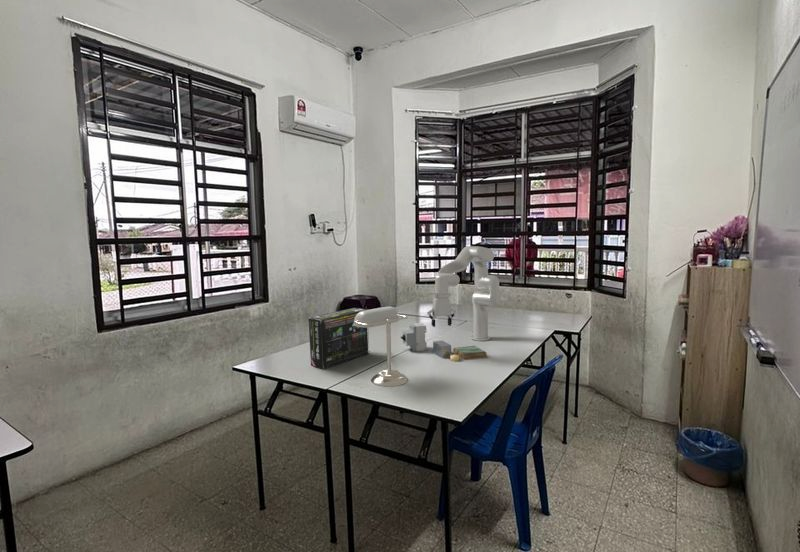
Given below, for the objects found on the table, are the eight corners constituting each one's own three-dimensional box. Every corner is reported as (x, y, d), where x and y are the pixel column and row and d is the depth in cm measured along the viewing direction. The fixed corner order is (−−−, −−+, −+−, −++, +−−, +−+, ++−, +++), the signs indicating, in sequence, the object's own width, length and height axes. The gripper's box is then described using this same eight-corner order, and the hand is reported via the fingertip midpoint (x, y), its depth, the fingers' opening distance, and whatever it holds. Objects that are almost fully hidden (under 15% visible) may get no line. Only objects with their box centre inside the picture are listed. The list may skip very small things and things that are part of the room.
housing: (433, 353, 244) (433, 341, 243) (442, 352, 246) (442, 340, 246) (441, 358, 234) (441, 346, 233) (451, 357, 236) (451, 345, 235)
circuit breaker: (400, 349, 253) (399, 324, 252) (422, 346, 258) (421, 323, 256) (404, 352, 246) (403, 327, 244) (426, 350, 250) (426, 325, 249)
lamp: (389, 366, 221) (388, 303, 218) (421, 377, 203) (421, 309, 200) (348, 378, 203) (346, 310, 200) (380, 392, 186) (378, 317, 182)
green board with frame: (453, 352, 244) (453, 347, 244) (474, 350, 248) (474, 345, 248) (463, 359, 231) (463, 354, 231) (486, 356, 235) (486, 351, 235)
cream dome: (448, 359, 232) (448, 355, 232) (457, 358, 234) (457, 354, 233) (452, 362, 227) (452, 357, 227) (460, 361, 229) (460, 356, 229)
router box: (356, 350, 251) (355, 307, 248) (369, 353, 244) (368, 309, 241) (308, 365, 224) (306, 316, 221) (322, 370, 217) (320, 319, 214)
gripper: (453, 294, 242) (452, 323, 244) (425, 296, 237) (425, 325, 239) (458, 296, 235) (458, 326, 237) (429, 297, 230) (429, 328, 232)
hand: (441, 325), depth 238 cm, fingers open, 9 cm apart
